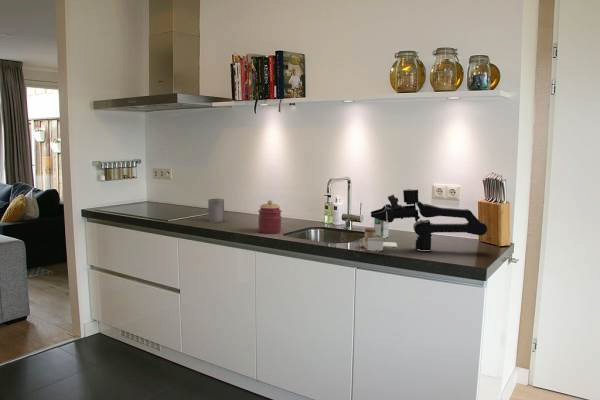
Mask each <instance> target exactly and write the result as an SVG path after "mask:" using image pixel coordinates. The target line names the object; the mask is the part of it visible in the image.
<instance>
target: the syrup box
mask: <svg viewBox="0 0 600 400" xmlns="http://www.w3.org/2000/svg"><path fill="white" fill-rule="evenodd" d="M373 221H374V223H373V228H375V229H376V232H375V237H376V238H385V239H387V238H386V237H388V238H389V228H390V227H389V226H390V225H389V224H390V223H388V222H385V221H382V220H379V219H376V218H373Z"/></svg>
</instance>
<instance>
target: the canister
mask: <svg viewBox="0 0 600 400" xmlns="http://www.w3.org/2000/svg"><path fill="white" fill-rule="evenodd" d="M259 208H260V209H258V211H257V212H258V217H257V219H258V228H257V229H258V232H259V233H261V234H267V235H271V234H272V235H273V234H274V235H275V234H279V233H281V232H282V214H281V213H282V210H281V209H280V208H281V205H278V204H277V203H273V200H268V201H267V203H263V204H261V205H260V206H259Z"/></svg>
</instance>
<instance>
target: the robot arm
mask: <svg viewBox="0 0 600 400" xmlns="http://www.w3.org/2000/svg"><path fill="white" fill-rule="evenodd" d="M402 193H403V194H402V195H403V196H402V197H403V203H405V204H406V205H402V204H399V203H398V202H400V200H399V198H398V197H395V195H394V194H391V195H389V196H387V199H388V201H389V203H390V204H388V203H387V204H384V205H383V207H382V208H380V209H375V210H373V211H370V217H371V218H373V219H374V218H376V219H379V220H382V221H385V222H388V223H389V224H390V223H393V222H394V220H395V219H400V220H404V219H410V218H411V219H412V218H414V221H415V222H414V223H413V231H414V233H415V234H416V235H418V236H416V239H415V240H414V241H415V242H414V243H415V245H414V249H415V250H416V249H420V250H431V251H432V234H434V233H465V234H466V233H467V234H470V235H475V236H484V235H485V234H486V233H487V232H488V227H487V224H485V223H484V222H482V221H480V220H479V219H478V218H477V217H476V216H475V214H474V213H473V212H472V211H471V210H469V209H467V208H464V209H463V208H452V207H451V208H450V207H440V206H436V205H433V204H429V203H423V202H421V201H420V200H419V189H411V188H410V189H403V190H402ZM417 208H418V209H417ZM419 215H421V216H422V217H423V218H436V217H449V218H460V219H465V220H466V221H467V222H466V223H465V222H464V223H431V221H430V220H429V219H425V220H424V219H421V216H419Z"/></svg>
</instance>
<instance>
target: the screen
mask: <svg viewBox="0 0 600 400" xmlns="http://www.w3.org/2000/svg"><path fill="white" fill-rule="evenodd" d="M383 242H384V239H380V238H368V248H367V250H383V251H384V248H383Z"/></svg>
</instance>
